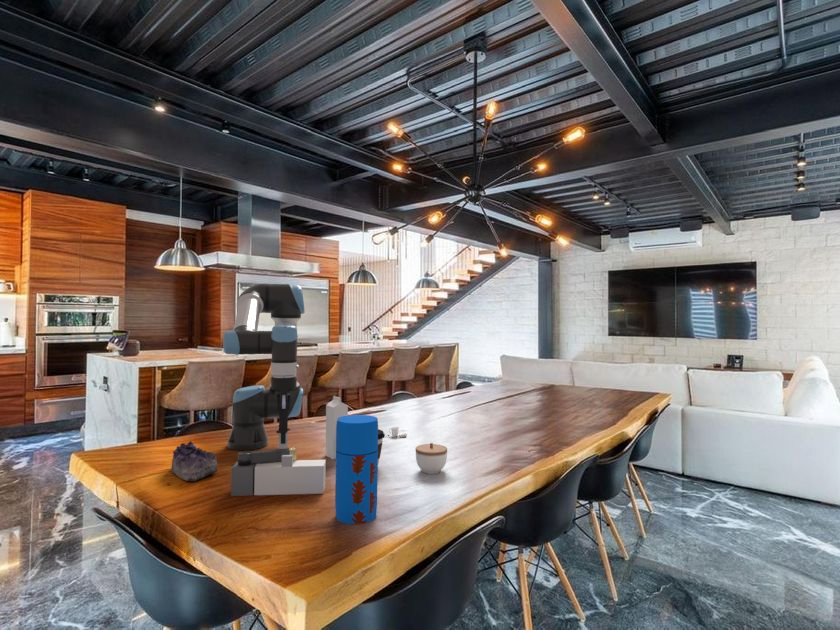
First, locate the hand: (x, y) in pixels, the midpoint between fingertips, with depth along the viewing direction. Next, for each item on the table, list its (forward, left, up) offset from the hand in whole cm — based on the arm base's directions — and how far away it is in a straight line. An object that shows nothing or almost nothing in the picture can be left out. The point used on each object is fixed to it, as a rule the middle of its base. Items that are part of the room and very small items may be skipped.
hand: (282, 453), depth 142 cm
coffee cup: (-16, +26, -10) cm, 32 cm away
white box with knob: (+5, 0, -10) cm, 11 cm away
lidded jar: (-10, +47, -10) cm, 49 cm away
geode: (-13, -32, -10) cm, 36 cm away
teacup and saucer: (-55, +38, -10) cm, 67 cm away
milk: (-29, +14, -10) cm, 34 cm away
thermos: (+24, +23, -10) cm, 35 cm away
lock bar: (+3, -4, -1) cm, 5 cm away
